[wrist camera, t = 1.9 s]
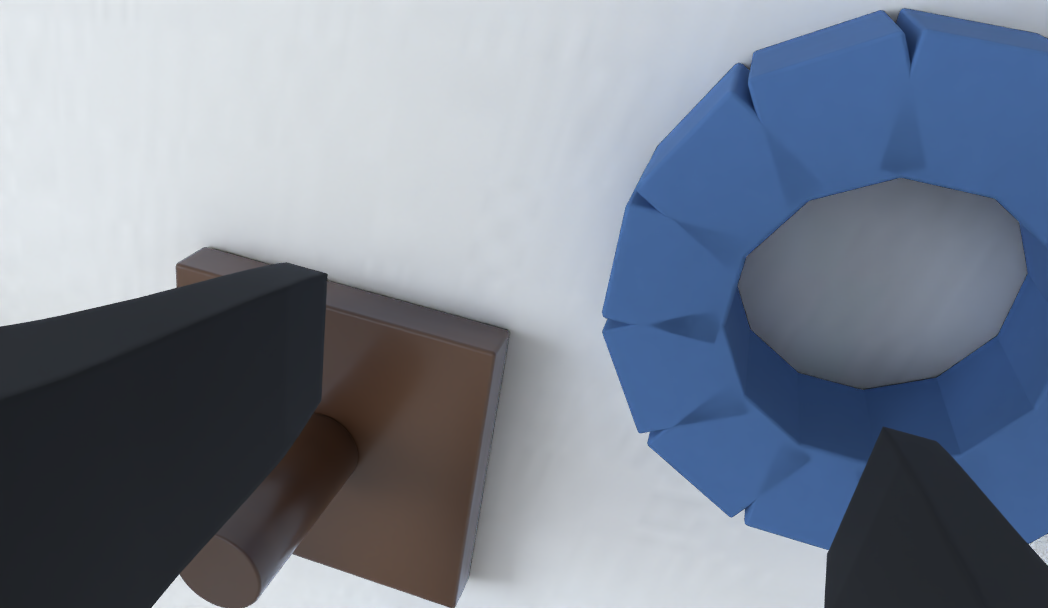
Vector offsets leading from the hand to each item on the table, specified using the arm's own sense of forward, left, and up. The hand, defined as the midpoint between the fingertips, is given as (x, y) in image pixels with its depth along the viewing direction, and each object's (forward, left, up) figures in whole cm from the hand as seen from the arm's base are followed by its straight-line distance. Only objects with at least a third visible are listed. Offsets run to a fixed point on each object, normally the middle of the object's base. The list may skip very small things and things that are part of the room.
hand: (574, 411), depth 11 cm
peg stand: (+7, +8, -8) cm, 13 cm away
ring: (-4, 0, -8) cm, 9 cm away
